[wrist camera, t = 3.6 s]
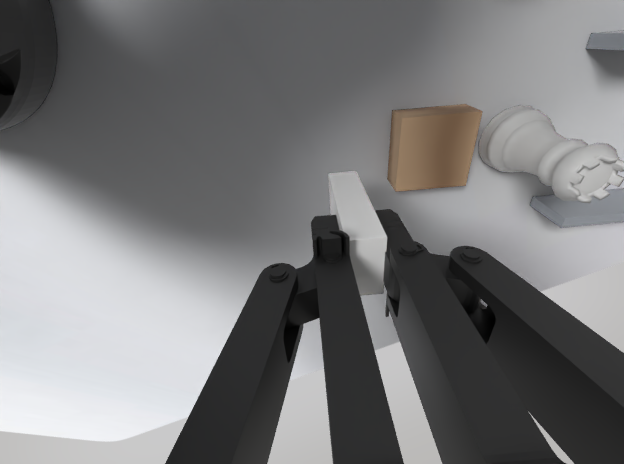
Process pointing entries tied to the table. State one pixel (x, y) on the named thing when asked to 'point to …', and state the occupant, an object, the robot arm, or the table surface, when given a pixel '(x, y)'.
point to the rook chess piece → (549, 155)
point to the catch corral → (608, 210)
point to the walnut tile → (432, 146)
